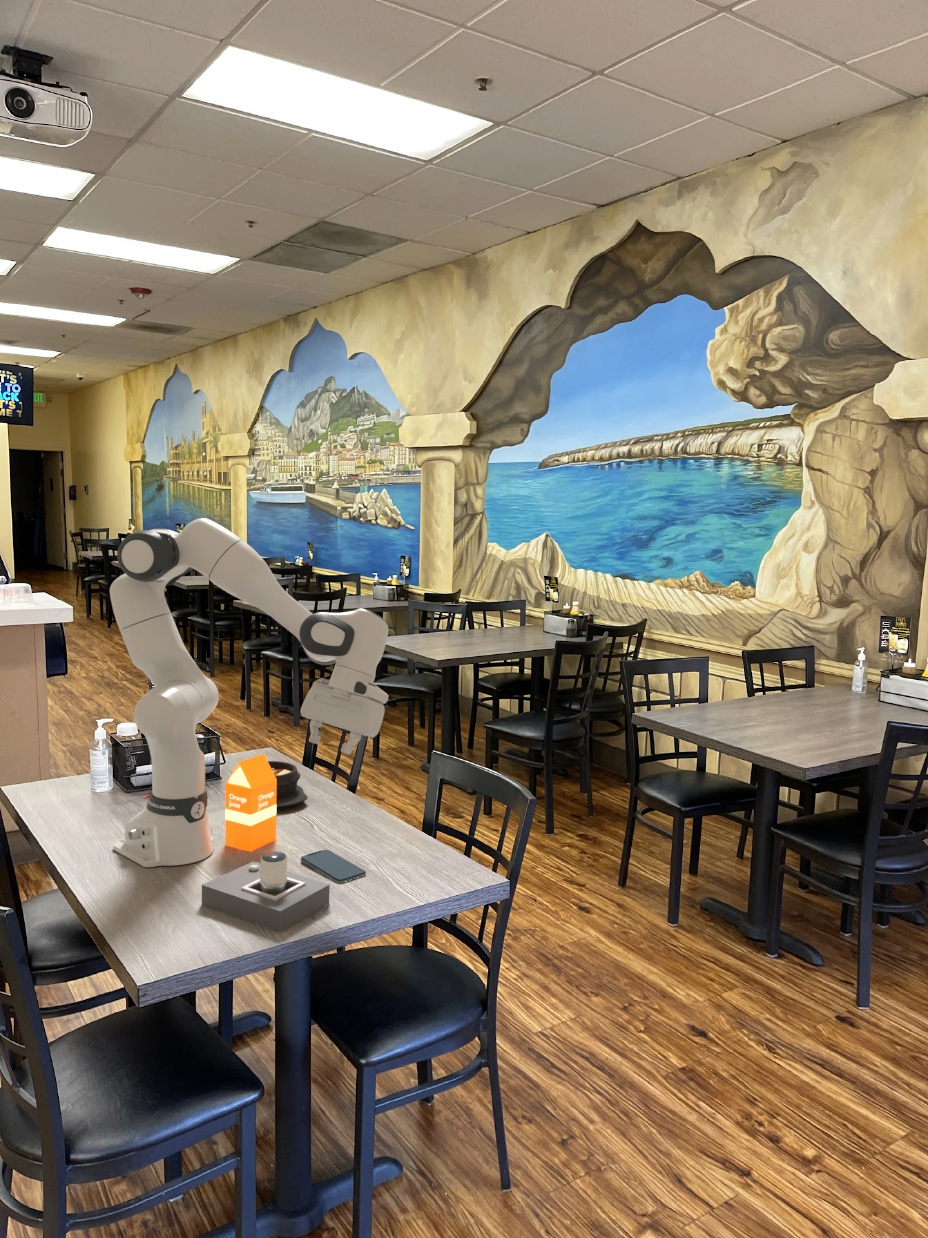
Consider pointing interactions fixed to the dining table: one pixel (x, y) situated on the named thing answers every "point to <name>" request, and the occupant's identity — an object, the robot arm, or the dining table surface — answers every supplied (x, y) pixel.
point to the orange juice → (251, 805)
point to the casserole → (287, 784)
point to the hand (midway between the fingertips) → (329, 748)
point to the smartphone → (332, 866)
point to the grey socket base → (264, 898)
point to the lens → (273, 873)
